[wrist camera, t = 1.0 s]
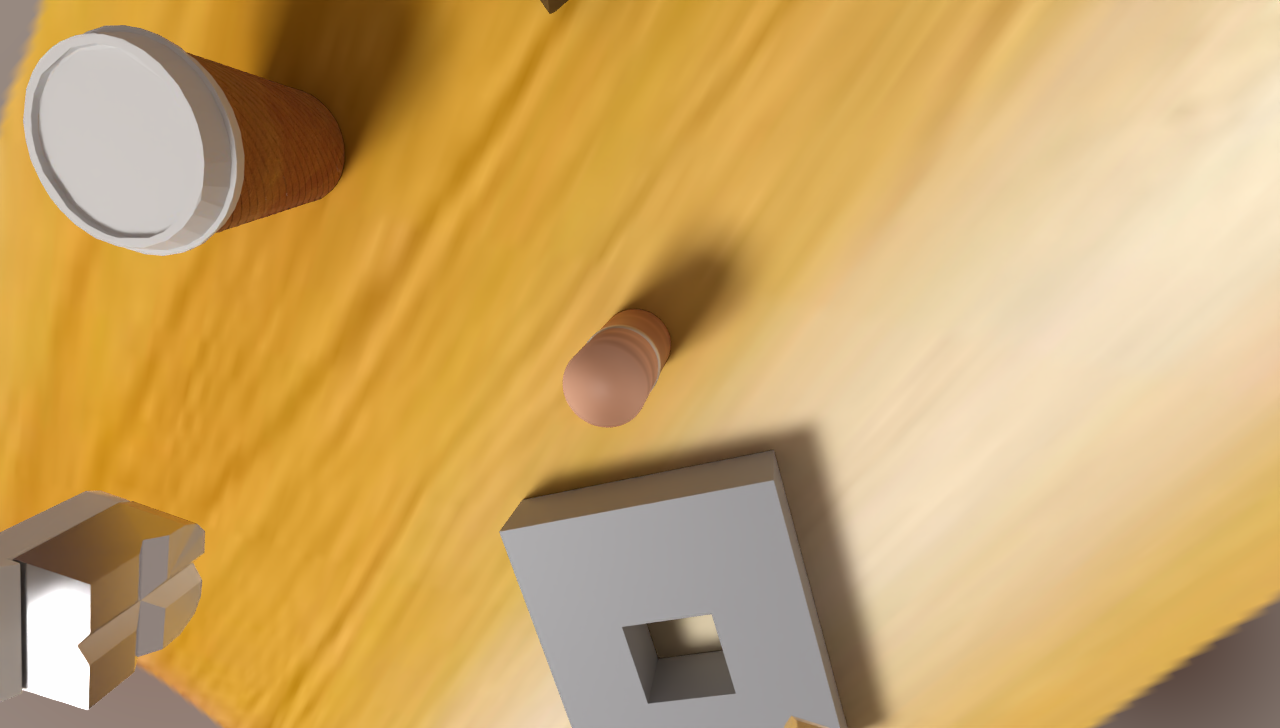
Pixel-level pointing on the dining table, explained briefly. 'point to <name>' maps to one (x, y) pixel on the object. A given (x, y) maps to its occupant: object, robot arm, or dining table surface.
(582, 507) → the gray board
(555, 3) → the phone stand
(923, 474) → the dining table surface
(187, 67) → the disposable coffee cup
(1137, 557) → the dining table surface
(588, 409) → the terracotta peg
